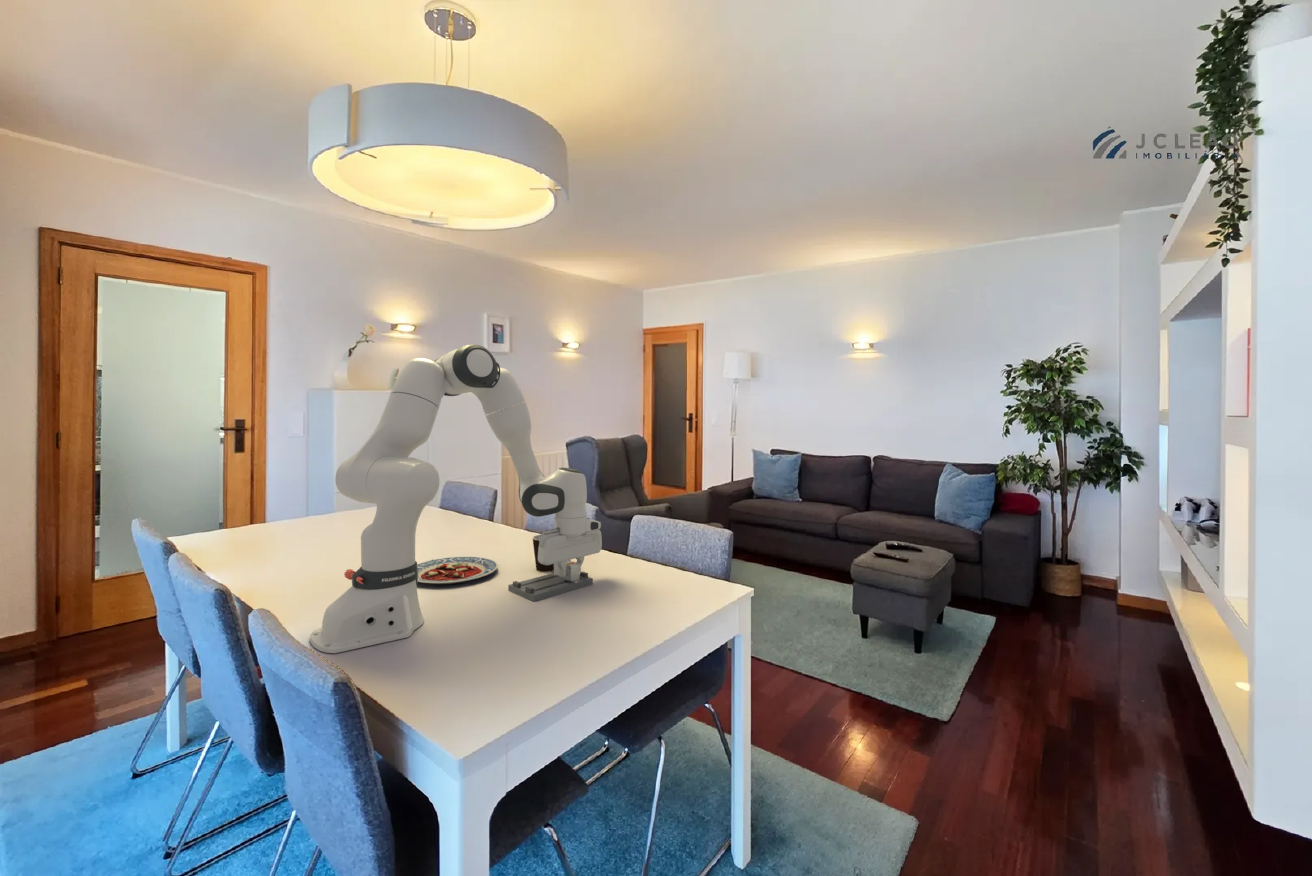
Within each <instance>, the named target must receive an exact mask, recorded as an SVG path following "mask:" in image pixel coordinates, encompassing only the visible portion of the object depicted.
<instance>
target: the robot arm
mask: <svg viewBox="0 0 1312 876" xmlns="http://www.w3.org/2000/svg"><path fill="white" fill-rule="evenodd" d="M466 393H471V394H473V395H475V396H476V398H477V400H479V402H480V404H481V406H482V409H483V413H484V416H485V418H486V420H487V422H488V424H489V426H490V429H491V430H492V432H493V434H494V435H495V437H496V438H497V441H499V442H501V444H502V445H503V446H504V447H505V449H506V450H507V451H508V453H509V455H510V457H511V460H512V464H513V467H514V468H515V471H516V474H517V476H518V481H519V482H518V483H519V485H518V498H519V500H520V503H521V505H522V508H523V510H524V511H525V512H526V513H527V514H528V515H530V516H533V517H540V518H541V517H545V516H551V515H554V528H551V529H546V530H544V531H543V532H542V533H541V535H540V534H539V535H540V537H539V549H538V561H539V562H540V563H541V564H543V565H551V564H555V563H557V565H558V567H559V569H560V575H561V576H563V577H565V576H568V569H565V567H564V565H565V561H567V560H571V561H572V560H576V563H579V573H580V572H582V569H581V567H582V566H583V564H584V561H585V557H587V556H590V555H591V556H592V555H594V554H599V553H600V552H601V551H602V549H603V548H602V547H603V546H602V545H603V542H602V540H603V538H602V532H601V530H600V529H601V527H602V522H601V521H598V520H595V519H591V518H588V516H587V515H588V514H587V509H586V506H587V505H586V504H587V500H588V498H587V497H588V491H587V490H588V489H587V480H586V479H587V478H586V475H585V474H584V473H583V472H582V471H580V470H579V469H575V468H572V467H571V468H569V467H559V468H558V469H557V470H555V471H554V472H552V473H550V474H549V475H547V476H545V475H544V474H543V473H542V472H541V470H540V467H539V464H538V461H537V459H536V456H535V454H534V451H533V447H532V444H531V431H532V423H531V417H530V412H529V409H528V405H527V402H526V399H525V398H524V395H523V393H522V391H521V387H519V384H518V382H517V380H516V379H515V378H514V375H513V374H512V373H511V372H510V370H508V369H506V368H504V367H501V365H500V364H499V363H498V362H497V361H496V358H495V356H494V355H493V354H492V353H491V351H490V350H488V349H487V348H486V347H484V346H482V345H479V344H472V343H471V344H466V345H462V346H460V347H459V348H456V349H453V350H451V351H450V350H449V352H448V351H447V352H446V353H445V354H443V355H442V356H440V357H439V358H436V359H435V360H432V359H429V358H425V357H415V358H412V359H410V360H408V361H407V362H406V363H405V364H404V366H403V367H402V369H401V371H400V373H399V374H398V375H397V378H396V380H395V382H394V384H393V386H392V389H391V392H390V394H389V396H388V399H387V402H386V405H385V407H384V410H383V412H382V415H381V417H380V420H379V421H378V424H377V425H376V427H375V429H374V430H373V432H372V434H371V435H370V436H369V438H368V439H367V440H366V441H365V442H364V444H363V445H362V446H361V447H360V448H359V449H358V451H357V452H356V453H354V454H353V455H352V456H350V457H349V458H347V459H346V460H344V461H342V462H341V464H340V465H339V466H338V468H337V470H336V472H335V479H334V480H335V485H336V488H337V490H338V492H339V493H340V494H341V495H343V496H345V497H347V498H349V499H352V500H354V501H356V502H359V503H364V504H365V503H368V504H375V505H376V511H375V515H374V518H373V520H372V523H371V524H369V525H368V526H367V527H365V528H364V529H363V530H362V532H361V533H360V534H361V535H360V554H361V555H360V561H361V564H360V565H361V566H360V567H359V569H356V571H355V570H354V569H351V568H350V569H346V570H345V572H344V578H346V579H347V580H350V581H351V586H350V588H348V589H347V590H346V591H344V592H343V594H341V595H340V596H339V597H338V598H336V599H335V600H333V602H332V603H330V604H329V605H328V606H327V608H326V609H325V611H324V613H323V617H322V621H321V622H322V623H321V627H320V628H316V629H314V630H313V631H312V632H311V633H310V635H309V636H310V638H309V641H310V644H311V645H312V646H313V647H314V648H315V649H316V650H318V651H320V652H322V653H326V654H339V653H342V652H347V651H348V652H349V651H351V650H355V649H361V648H364V647H365V648H366V647H369V646H374V645H378V644H383V643H387V642H388V643H389V642H392V641H396V640H397V641H398V640H402V639H406V638H410V637H411V636H412V635H413V633H414V631H415V630H417V629H418V628H420V627H421V626H422V625H423V623H424V621H425V618H424V616H423V614H422V610H421V606H420V601H419V595H418V588H417V585H418V584H419V582H418V568H417V564H418V562H417V561H416V532H417V526H418V522H419V519H420V517H421V515H422V512H423V511H424V509H425V507H427V505H428V504H429V503H430V502H432V500H433V499H435V497H436V495H437V494H438V491H439V489H440V485H441V484H440V483H441V481H440V475H439V472H438V469H437V468H436V467H435V466H434V465H433V464H432V463H429V462H427V461H425V460H422V459H419V458H416V457H410V456H411V454H412V453H413V452H414V451H415V450H416V449H417V448H419V447H421V446H422V445H424V444H425V443H426V442H427V441H428V440H429V439H430V437H431V433H432V430H433V428H434V425H435V421H436V418H437V416H438V412H439V409H440V406H441V403H442V402H441V401H442V399H443V397H444V396H445V397H455V396H460V395H462V394H466ZM543 534H544V535H543Z"/></svg>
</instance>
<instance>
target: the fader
mask: <svg viewBox="0 0 1312 876" xmlns="http://www.w3.org/2000/svg"><path fill="white" fill-rule="evenodd" d="M576 562H577V561H576ZM576 562H575V561H573V560H571V561H568V562H565V565H564V567H565V569H568V576H565V577H563V576H562V578H563V579H565V580H568V581H575V580H578V579H579V574H580V572H579V563H576Z"/></svg>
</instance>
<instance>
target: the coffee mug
mask: <svg viewBox="0 0 1312 876" xmlns="http://www.w3.org/2000/svg"><path fill="white" fill-rule="evenodd" d="M541 534H542V533H541ZM541 534H537V535H536V534H535V535H533V536H532V546H533V553H534V563H535V570H536V571H538V572H541V573H542V572H543V573H549V571H550V572H554V564H551V565H543V564H541V563H540V562H539V561H538V549H539V537H540V535H541ZM543 535H544V534H543Z"/></svg>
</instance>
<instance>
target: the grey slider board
mask: <svg viewBox="0 0 1312 876" xmlns="http://www.w3.org/2000/svg"><path fill="white" fill-rule="evenodd" d="M568 561H572V559H571V560H567V561H565V562H568ZM593 584H594V579H593V578H592V577H590V576H589V572H586V571H583V570H581V572H579V579H578V580H575V581H568V580H565V579H563V578H562V576H561V575H560V569H559V567H558V565H557V563H555V564H554V571H553V572H552V573H548V574H546V575H545V574H544V575H540V576H537V577H533V578H530V579H525V580H521V581H518V580H515V581H512V583H511V584H508V585H507V586H508V589H507V590H508V591H509V592H511V593H513V594H516V595H518V596H520V597H522V598H524V599H527V600H529V601H532V602H536V601H539V600H540V601H541V600H544V599H547V598H550V597H554V596H557V595H561V594H564V593H567V592H570V591H571V592H572V591H573V590H577V589H582V588H583V587H584V588H585V587H587V586H592V585H593Z"/></svg>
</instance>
